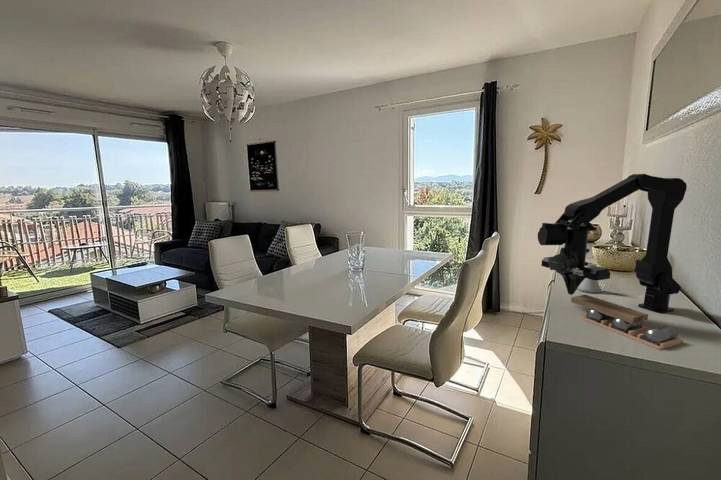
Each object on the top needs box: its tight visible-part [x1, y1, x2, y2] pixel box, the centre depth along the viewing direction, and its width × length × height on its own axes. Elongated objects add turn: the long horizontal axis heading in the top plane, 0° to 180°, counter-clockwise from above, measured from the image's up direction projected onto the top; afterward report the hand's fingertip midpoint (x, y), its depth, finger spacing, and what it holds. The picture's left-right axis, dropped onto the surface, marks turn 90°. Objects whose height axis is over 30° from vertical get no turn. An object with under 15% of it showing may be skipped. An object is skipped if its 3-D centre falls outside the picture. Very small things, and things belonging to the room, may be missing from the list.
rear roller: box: [585, 309, 614, 323], centre depth 97 cm, size 7×4×4 cm
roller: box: [642, 325, 678, 346], centre depth 83 cm, size 4×7×4 cm, turn 110°
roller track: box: [580, 313, 685, 351], centre depth 90 cm, size 9×20×1 cm, turn 20°
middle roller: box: [611, 319, 644, 333], centre depth 90 cm, size 7×4×4 cm, turn 110°
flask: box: [576, 262, 602, 294], centre depth 122 cm, size 7×7×10 cm
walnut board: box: [570, 294, 649, 324], centre depth 95 cm, size 6×17×2 cm, turn 20°
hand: (570, 294), depth 105 cm, fingers closed
